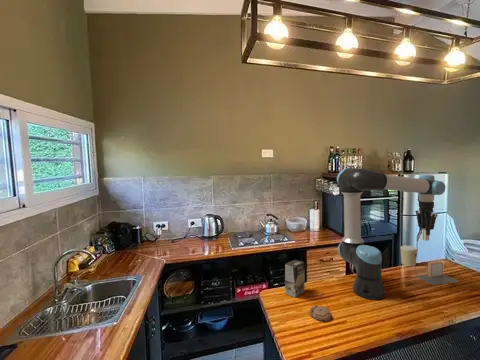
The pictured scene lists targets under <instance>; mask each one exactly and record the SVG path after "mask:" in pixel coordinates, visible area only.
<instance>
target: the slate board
mask: <svg viewBox="0 0 480 360" xmlns="http://www.w3.org/2000/svg"><path fill="white" fill-rule="evenodd" d="M415 277H416V278H417V279H420V280H422V281H424V282H427V283H428V284H430V285H432V286H435V285H445V284H451V283H452V284H453V283H458V282H460V283H461V280H458V279H456V278H454V277H452V276H449V275H447V274H444V273H443V276H438V277H429V276H428V273H425V274H419V275H415Z"/></svg>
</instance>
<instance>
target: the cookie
mask: <svg viewBox="0 0 480 360" xmlns="http://www.w3.org/2000/svg"><path fill="white" fill-rule="evenodd" d="M308 314H309V316H310V317H311V318H313V319H314V320H315V321H319V322H321V323H327V322H329V321H331V320H332V317H333V316H332V313H331V311H330V310H329V308H328V307H327V306H323V305H316V304H315V305H313V306H311V307H310V309H309V310H308Z"/></svg>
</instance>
